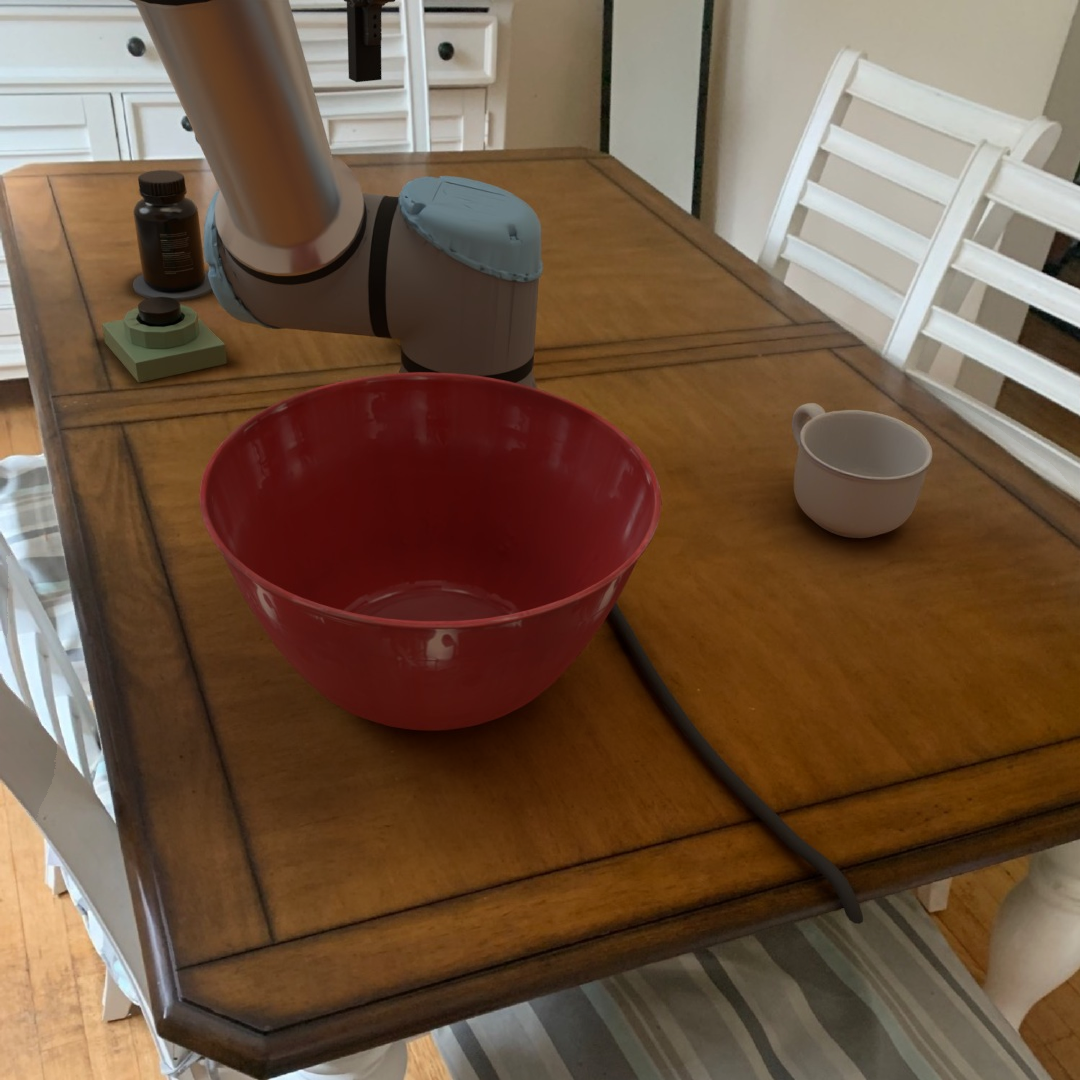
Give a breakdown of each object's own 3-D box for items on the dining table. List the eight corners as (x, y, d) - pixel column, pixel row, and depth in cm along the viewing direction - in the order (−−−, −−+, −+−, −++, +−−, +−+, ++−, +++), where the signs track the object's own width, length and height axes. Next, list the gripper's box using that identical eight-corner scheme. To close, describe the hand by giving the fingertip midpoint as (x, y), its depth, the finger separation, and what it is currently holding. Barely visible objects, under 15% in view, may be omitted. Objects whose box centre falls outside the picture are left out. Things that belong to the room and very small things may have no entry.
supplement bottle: (214, 273, 131) (204, 170, 124) (193, 296, 125) (181, 189, 118) (156, 267, 131) (142, 163, 124) (133, 290, 126) (117, 182, 119)
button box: (227, 364, 114) (223, 327, 111) (138, 383, 109) (132, 345, 107) (189, 326, 120) (185, 290, 118) (104, 343, 116) (98, 306, 113)
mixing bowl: (496, 893, 64) (512, 691, 55) (129, 696, 74) (92, 501, 65) (695, 629, 84) (729, 451, 75) (385, 505, 95) (383, 336, 86)
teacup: (932, 547, 96) (959, 466, 91) (819, 561, 93) (840, 479, 88) (851, 462, 106) (871, 386, 102) (747, 473, 103) (763, 395, 99)
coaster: (228, 292, 128) (227, 289, 128) (149, 307, 123) (149, 303, 123) (198, 265, 134) (197, 262, 133) (122, 278, 129) (121, 274, 129)
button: (188, 324, 112) (186, 308, 111) (148, 332, 110) (146, 316, 109) (173, 309, 115) (171, 293, 114) (134, 317, 113) (132, 300, 112)
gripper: (282, -228, 96) (297, 66, 109) (359, -217, 87) (365, 99, 101) (360, -223, 100) (365, 60, 113) (440, -212, 91) (435, 92, 105)
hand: (365, 78), depth 107 cm, fingers closed
